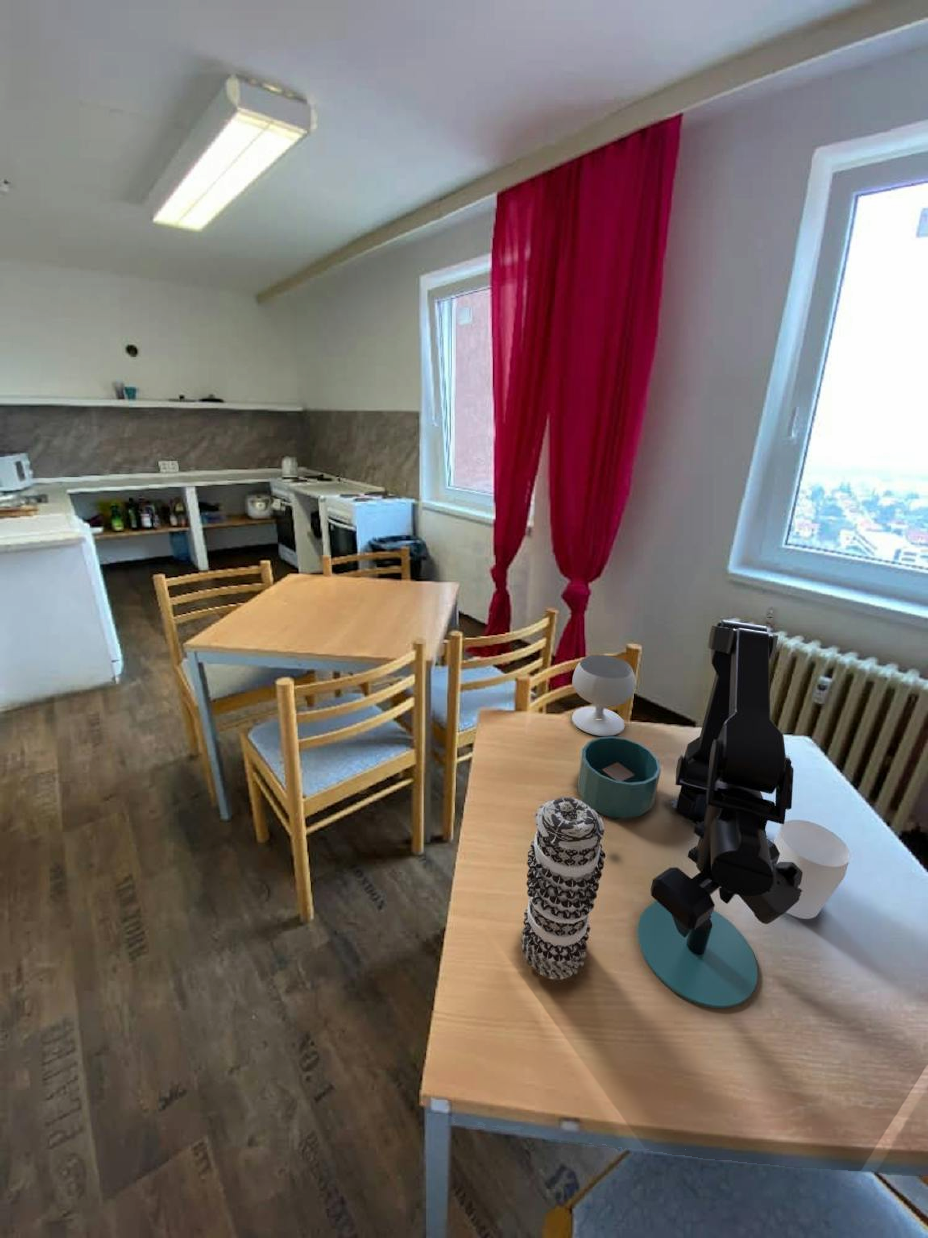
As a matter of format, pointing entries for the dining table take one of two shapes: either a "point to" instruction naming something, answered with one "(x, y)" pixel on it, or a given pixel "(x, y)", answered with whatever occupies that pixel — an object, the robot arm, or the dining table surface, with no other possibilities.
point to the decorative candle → (562, 886)
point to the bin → (617, 794)
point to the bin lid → (698, 958)
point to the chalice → (602, 693)
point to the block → (618, 773)
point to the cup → (812, 863)
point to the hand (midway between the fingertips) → (703, 917)
